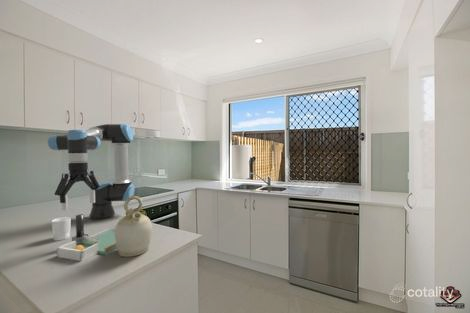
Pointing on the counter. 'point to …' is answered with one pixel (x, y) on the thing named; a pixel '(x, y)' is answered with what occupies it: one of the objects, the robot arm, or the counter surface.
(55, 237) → the white cup
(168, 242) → the counter surface
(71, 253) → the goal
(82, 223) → the black lever handle
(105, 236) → the pitch
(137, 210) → the jug
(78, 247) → the ball
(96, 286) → the counter surface
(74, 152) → the robot arm
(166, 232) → the counter surface
